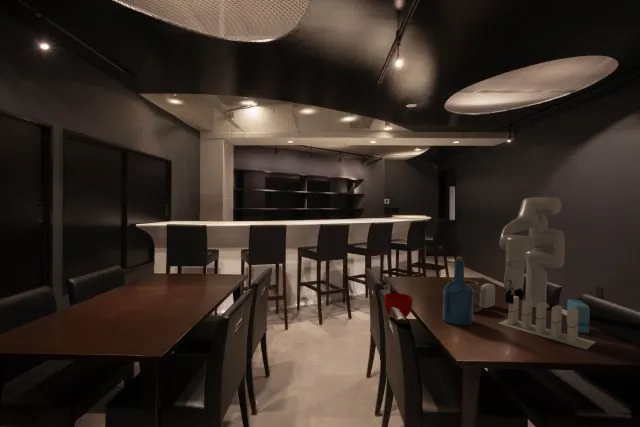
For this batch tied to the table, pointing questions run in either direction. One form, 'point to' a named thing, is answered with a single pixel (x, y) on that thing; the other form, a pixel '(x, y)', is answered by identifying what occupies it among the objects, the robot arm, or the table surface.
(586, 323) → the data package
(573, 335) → the domino
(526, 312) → the domino
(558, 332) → the domino
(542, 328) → the domino
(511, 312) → the domino
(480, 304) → the photo printer
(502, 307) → the table surface
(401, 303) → the ceramic cup
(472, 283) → the tankard
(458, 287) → the wine bottle
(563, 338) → the domino mat
